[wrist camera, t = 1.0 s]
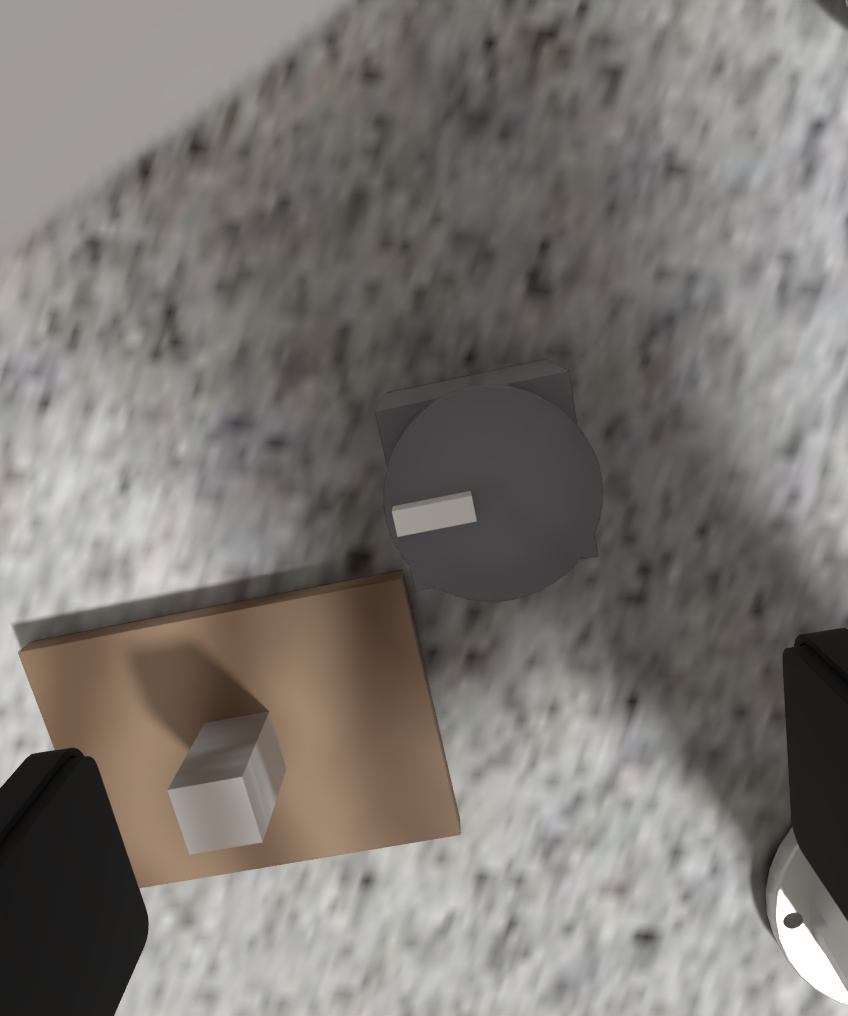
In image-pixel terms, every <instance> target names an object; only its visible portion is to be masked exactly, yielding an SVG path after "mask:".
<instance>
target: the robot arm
mask: <svg viewBox="0 0 848 1016" xmlns="http://www.w3.org/2000/svg"><path fill="white" fill-rule="evenodd" d="M783 677H784V695H785V713H786V731H787V749H788V767H789V785H790V804H791V820H792V828H791V829H790V831H789V832H788V834H787V835H786V837H785V838H784V840H783V841H782V843H781V844H780V846H779V848H778V850H777V852H776V855H775V857H774V860H773V862H772V865H771V867H770V870H769V875H768V881H767V887H766V907H767V915H768V919H769V922H770V925H771V929H772V932H773V935H774V936H775V938H776V940H777V942H778V944H779V946H780V948H781V950H782V952H783V954H784V956H785V958H786V959H787V960H788V962H789V963H790V964H791V966H792V967H793V968H794V970H795V971H796V972H797V973H798V975H799V976H800V977H802V978H803V979H804V980H805V981H806V982H807V983H809V984H810V985H811V986H812V987H813V988H814V989H816V990H817V991H819V992H821V993H823V994H825V995H826V996H828V997H830V998H832V999H834V1000H835V1001H837V1002H840V1003H843V1004H846V1005H848V629H846V628H840V629H834V630H827V631H821V632H815V633H808V634H802V635H799V636H798V637H797V638H796V640H795V644H794V647H791V648H786V649H785V650H784V652H783ZM148 925H149V923H148V915H147V910H146V907H145V904H144V902H143V899H142V896H141V893H140V890H139V887H138V884H137V881H136V878H135V875H134V872H133V869H132V866H131V863H130V860H129V857H128V854H127V851H126V848H125V845H124V842H123V839H122V836H121V833H120V830H119V827H118V824H117V822H116V819H115V816H114V813H113V810H112V807H111V804H110V801H109V798H108V795H107V792H106V789H105V786H104V783H103V780H102V777H101V774H100V771H99V768H98V766H97V763H96V761H95V760H94V759H93V758H92V757H90V756H84V754H83V753H82V752H81V751H80V750H79V749H77V748H74V747H73V748H66V749H60V750H53V751H47V752H41V753H35V754H31V755H30V756H29V757H27V758H26V759H25V760H24V761H23V763H22V764H21V765H20V766H19V767H18V768H17V770H16V771H15V772H14V773H13V774H12V775H11V776H10V778H9V779H8V780H7V781H6V782H5V783H4V785H3V786H2V787H1V788H0V1016H114V1014H115V1012H116V1010H117V1008H118V1005H119V1003H120V1001H121V998H122V996H123V994H124V992H125V989H126V987H127V985H128V982H129V980H130V978H131V976H132V973H133V971H134V969H135V966H136V964H137V962H138V960H139V957H140V955H141V953H142V951H143V948H144V946H145V943H146V940H147V935H148Z"/></svg>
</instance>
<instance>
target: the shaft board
mask: <svg viewBox="0 0 848 1016" xmlns="http://www.w3.org/2000/svg"><path fill="white" fill-rule="evenodd" d="M18 654H19V657H20V659H21V662H22V665H23V667H24V670H25V672H26V675H27V678H28V680H29V683H30V686H31V688H32V691H33V693H34V696H35V699H36V701H37V704H38V707H39V709H40V712H41V714H42V717H43V720H44V722H45V725H46V728H47V730H48V733H49V735H50V738H51V741H52V743H53V746H54V749H55V750H60V749H66V748H73V747H74V748H77V749H79V750H80V751H81V752H82V753H83V754H84V756H90V757H92V758H93V759H94V760H95V761H96V763H97V766H98V768H99V771H100V774H101V777H102V780H103V783H104V786H105V789H106V792H107V795H108V798H109V801H110V804H111V807H112V810H113V813H114V816H115V819H116V822H117V824H118V827H119V830H120V833H121V836H122V839H123V842H124V845H125V848H126V851H127V854H128V857H129V860H130V863H131V866H132V869H133V872H134V875H135V878H136V881H137V884H138V887H139V888H144V887H150V886H156V885H162V884H168V883H174V882H180V881H186V880H192V879H198V878H204V877H210V876H216V875H222V874H228V873H234V872H240V871H246V870H252V869H258V868H264V867H270V866H276V865H282V864H288V863H294V862H300V861H306V860H312V859H318V858H324V857H330V856H336V855H342V854H348V853H354V852H360V851H366V850H372V849H378V848H384V847H390V846H396V845H402V844H408V843H414V842H420V841H426V840H432V839H438V838H444V837H450V836H456V835H461V831H460V817H459V813H458V808H457V804H456V800H455V796H454V791H453V787H452V783H451V778H450V774H449V770H448V765H447V761H446V757H445V752H444V748H443V744H442V739H441V735H440V731H439V726H438V722H437V718H436V713H435V709H434V705H433V700H432V696H431V692H430V688H429V683H428V679H427V675H426V670H425V666H424V662H423V657H422V653H421V649H420V644H419V640H418V636H417V631H416V627H415V623H414V618H413V614H412V610H411V605H410V601H409V597H408V592H407V588H406V584H405V580H404V575H403V571H402V570H401V571H395V572H390V573H385V574H380V575H375V576H370V577H364V578H359V579H354V580H349V581H344V582H338V583H333V584H328V585H323V586H318V587H313V588H307V589H302V590H297V591H292V592H287V593H282V594H276V595H271V596H266V597H261V598H256V599H251V600H245V601H240V602H235V603H230V604H225V605H219V606H214V607H209V608H204V609H199V610H194V611H188V612H183V613H178V614H173V615H168V616H163V617H157V618H152V619H147V620H142V621H137V622H131V623H126V624H121V625H116V626H111V627H106V628H100V629H95V630H90V631H85V632H80V633H75V634H69V635H64V636H59V637H54V638H49V639H43V640H38V641H33V642H30V643H29V644H28V645H26V646H25V647H24V648H23V649H22V650H20V651H19V652H18Z"/></svg>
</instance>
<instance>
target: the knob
mask: <svg viewBox="0 0 848 1016" xmlns="http://www.w3.org/2000/svg"><path fill="white" fill-rule="evenodd" d="M375 415H376V419H377V424H378V428H379V433H380V437H381V441H382V446H383V450H384V454H385V459H386V463H387V468H388V470H387V474H386V478H385V485H384V510H385V516H386V522H387V525H388V528H389V531H390V534H391V537H392V539H393V541H394V543H395V545H396V547H397V549H398V550H399V552H400V553H401V555H402V557H403V558H404V559H405V560H406V562H407V563H408V564H409V565H410V568H411V573H412V577H413V581H414V586H415V590H416V591H418V590H424V589H429V588H434V587H437V588H439V589H441V590H443V591H445V592H447V593H450V594H453V595H455V596H458V597H462V598H466V599H470V600H477V601H505V600H513V599H517V598H520V597H524V596H527V595H530V594H533V593H535V592H538V591H540V590H542V589H544V588H546V587H547V586H549V585H551V584H553V583H554V582H555V581H557V580H558V579H560V578H561V577H562V576H564V575H565V574H566V573H567V572H568V571H569V570H570V569H571V568H572V567H573V566H574V565H575V564H576V563H577V562H578V560H581V559H586V558H591V557H597V556H598V551H597V545H596V538H595V532H596V529H597V526H598V523H599V520H600V515H601V509H602V500H603V487H602V477H601V472H600V468H599V464H598V461H597V459H596V456H595V453H594V451H593V449H592V447H591V445H590V443H589V442H588V440H587V438H586V437H585V435H584V434H583V433H582V431H581V430H580V429H579V427H578V426H577V420H576V413H575V407H574V401H573V395H572V388H571V382H570V376H569V371H568V370H566V369H564V368H562V367H560V366H559V365H557V364H555V363H553V362H551V361H549V360H547V359H545V360H540V361H536V362H531V363H526V364H521V365H517V366H512V367H507V368H502V369H498V370H493V371H488V372H483V373H479V374H474V375H469V376H464V377H460V378H455V379H450V380H446V381H441V382H436V383H431V384H427V385H422V386H417V387H412V388H408V389H403V390H398V391H393V392H389V393H385V395H384V397H383V398H382V400H381V402H380V403H379V405H378V407H377V409H376V410H375Z"/></svg>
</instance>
